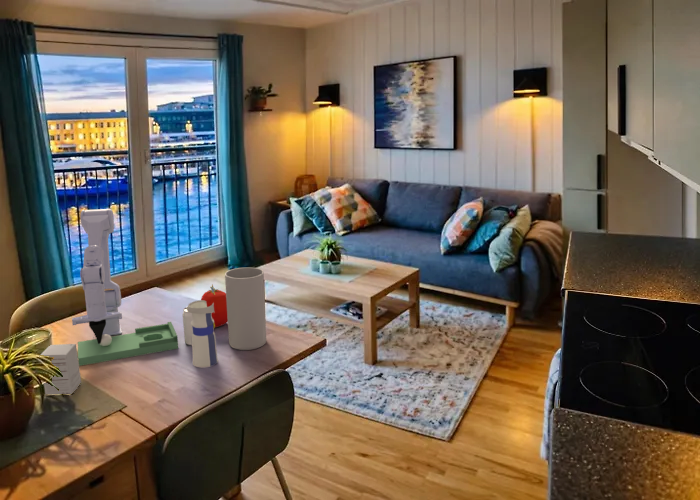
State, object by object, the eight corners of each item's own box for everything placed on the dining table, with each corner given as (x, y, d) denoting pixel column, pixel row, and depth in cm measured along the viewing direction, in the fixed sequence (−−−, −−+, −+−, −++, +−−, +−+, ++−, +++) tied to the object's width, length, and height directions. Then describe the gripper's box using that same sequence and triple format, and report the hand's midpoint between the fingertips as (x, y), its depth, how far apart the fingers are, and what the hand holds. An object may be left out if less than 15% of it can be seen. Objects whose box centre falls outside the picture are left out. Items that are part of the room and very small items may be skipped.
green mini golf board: (78, 348, 187) (77, 336, 186) (172, 333, 200) (171, 321, 199) (79, 365, 175) (77, 352, 174) (178, 348, 188) (177, 335, 186)
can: (199, 346, 189) (196, 312, 186) (181, 345, 190) (178, 311, 187) (207, 338, 195) (205, 305, 192) (190, 337, 196) (187, 305, 193)
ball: (95, 339, 184) (102, 329, 184) (107, 344, 186) (114, 334, 186) (95, 345, 181) (102, 335, 180) (107, 350, 183) (114, 340, 182)
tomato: (219, 317, 215) (217, 282, 211) (240, 324, 208) (238, 287, 205) (193, 328, 205) (190, 291, 201) (214, 335, 198) (211, 297, 195)
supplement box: (55, 384, 164) (49, 344, 160) (82, 383, 164) (76, 343, 161) (44, 397, 156) (38, 355, 153) (72, 395, 157) (66, 354, 154)
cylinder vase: (221, 343, 191) (217, 273, 185) (251, 333, 200) (248, 265, 194) (244, 354, 183) (240, 280, 177) (274, 342, 192) (271, 272, 185)
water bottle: (204, 353, 183) (199, 280, 177) (224, 359, 179) (219, 284, 173) (185, 363, 176) (179, 287, 170) (205, 369, 172) (200, 292, 166)
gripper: (70, 309, 173) (75, 350, 176) (120, 302, 179) (124, 343, 182) (70, 302, 179) (75, 342, 182) (119, 296, 185) (123, 335, 188)
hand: (99, 342), depth 182 cm, fingers closed, pressing on ball
